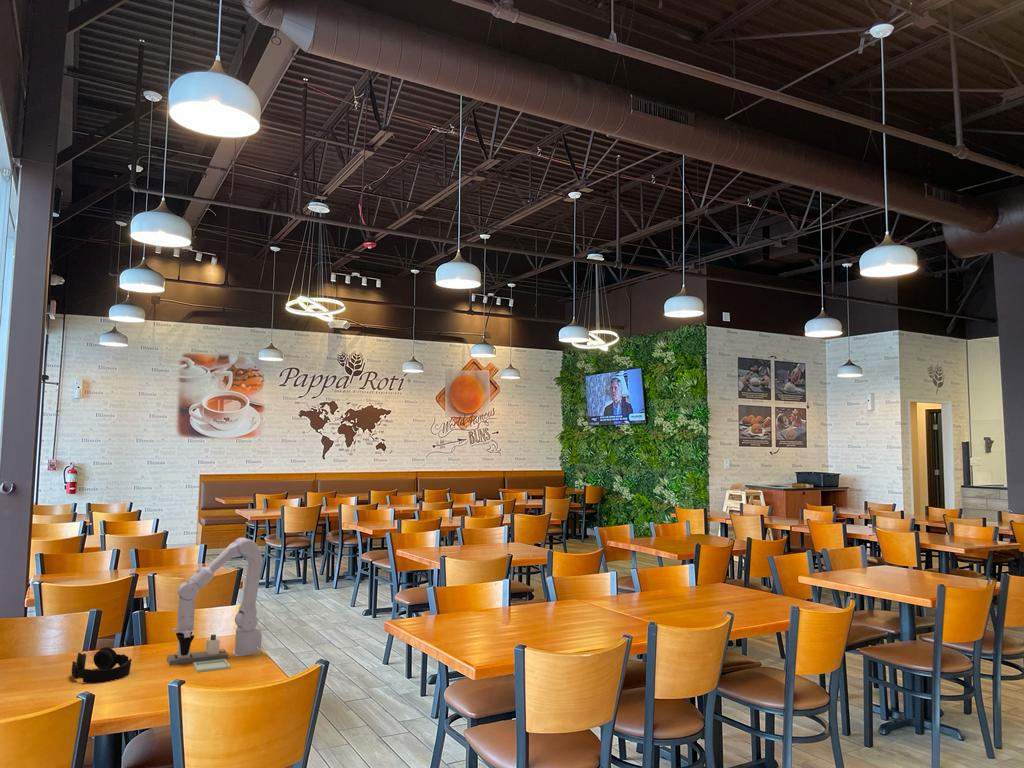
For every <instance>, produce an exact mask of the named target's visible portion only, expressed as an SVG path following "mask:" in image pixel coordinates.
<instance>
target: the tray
mask: <svg viewBox="0 0 1024 768" xmlns="http://www.w3.org/2000/svg"><path fill="white" fill-rule="evenodd" d="M227 660H228V659H220V660H211V661H202V662H193V663H192V665H193V667H194V669H195V671H196V673H204V672H212V671H222V670H230V669H231V668H232V667H231V665H230V663H229V662H228V661H227Z"/></svg>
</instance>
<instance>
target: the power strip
mask: <svg viewBox="0 0 1024 768" xmlns="http://www.w3.org/2000/svg"><path fill="white" fill-rule="evenodd" d="M220 643H221V641H220V638H218V637H217V635H216V634H211V635H210V638H206V645H205V647H206V648H205V650H203V651H193V652H190V657H189V658H180V659H177V653H175V654H167V663H168V665H169V666H177V665H185V664H193V662H202V661H211V660H220V659H226V660H229V653H228V651H226V649H225V648H221V649H220Z"/></svg>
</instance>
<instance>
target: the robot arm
mask: <svg viewBox="0 0 1024 768" xmlns="http://www.w3.org/2000/svg"><path fill="white" fill-rule="evenodd" d="M241 556H242V557H243V558H244V559H245V560H246V561H247V570H246V574H245V582H244V586H243V587H244V589H243V594H242V601H241V604H240V606H239V607H238V611H237V613H236V615H235V617H234V622H235V625H236V628H235V637H234V638H235V639H234V650H232V651H231V652H232V654H233V656H234V657H243V656H251V655H252V656H253V655H261V654H262V637H263V636H262V629H261V628H256V627H257V625H258V622H259V621H258V617H257V612H258V611H257V606H256V605H257V597H258V593H259V586H260V579H261V572H262V567H263V559H264V557H263V556H262V554H261V552H260V549H259V545H258V544H257V542H255V541H254V540H253V539H249V538H246V537H244V536H240V537H238V538H236V539H235V540H234V541H233V542H231V543H230V544H229V545H227V547H226V548H225V549H224V550H223V551H222V552H221V553H220V554H219V555H217V557H216V558H215V559H214V560H213V561H211V563H210V564H209V565H208V566H202V567H201V568H197V569H196V572H194V574H193V575H191V577H189V578H187V579H185V581H186V582H182V583H181V584H180V585H179V586H178V589H177V590H176V592H177V595H178V596H179V597H178V604H177V621H176V622H177V623H176V628H173V632H175V635H176V638H177V640H178V639H179V643H180V650H181V655H182V656H183V655H188V652H189V648H190V649H191V646H190V645H191V644H192V641H193V640H194V638H195V635H193V631H195V607H196V602H195V601H196V600H195V599H196V597H197V596H198V593H199V591H200V590H202V588H204V587H205V586H206V585H207V584H208V583H209V582H210V581H211V580H212V579H213V578H214V573H215V572H217V570H219V569H220V568H221V567H222V566H224V565H225V564H226V563H228V561H229V560H232V558H233V559H235V558H238V557H241ZM257 647H258V648H259V649H260V650H259V649H258V648H257Z"/></svg>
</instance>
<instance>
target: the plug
mask: <svg viewBox="0 0 1024 768" xmlns="http://www.w3.org/2000/svg"><path fill="white" fill-rule="evenodd" d="M176 646H177V648H176V654H177V659H180V658H189V657H190V653H191V645H190V648H189V652H188V655H183V656H182V655H181V650H180V643H179V639H178V638H177V645H176Z"/></svg>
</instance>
